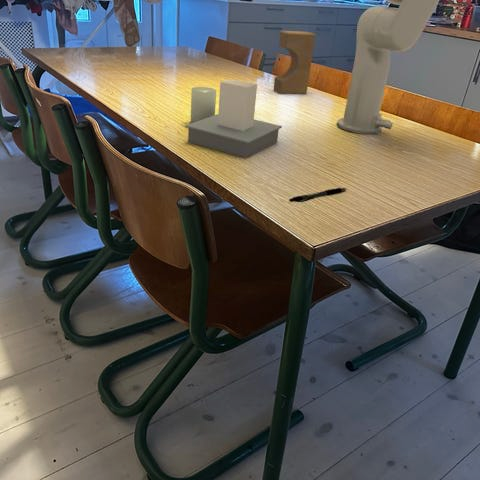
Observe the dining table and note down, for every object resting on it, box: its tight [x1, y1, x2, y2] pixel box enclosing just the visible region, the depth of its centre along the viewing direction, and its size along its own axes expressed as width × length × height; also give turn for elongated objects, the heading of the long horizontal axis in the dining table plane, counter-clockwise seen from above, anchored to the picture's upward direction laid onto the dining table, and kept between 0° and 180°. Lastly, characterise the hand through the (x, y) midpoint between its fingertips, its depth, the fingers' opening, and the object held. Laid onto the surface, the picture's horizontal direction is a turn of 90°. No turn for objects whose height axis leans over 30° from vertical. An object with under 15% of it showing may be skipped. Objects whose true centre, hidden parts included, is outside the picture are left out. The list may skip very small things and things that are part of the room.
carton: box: [217, 78, 258, 131], centre depth 114 cm, size 5×7×10 cm
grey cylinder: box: [189, 86, 217, 124], centre depth 127 cm, size 6×6×9 cm
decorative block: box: [273, 30, 316, 95], centre depth 167 cm, size 11×6×20 cm, turn 110°
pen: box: [288, 187, 347, 203], centre depth 93 cm, size 14×2×1 cm, turn 121°
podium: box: [185, 113, 283, 159], centre depth 117 cm, size 17×17×4 cm
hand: (255, 0), depth 110 cm, fingers open, 9 cm apart
